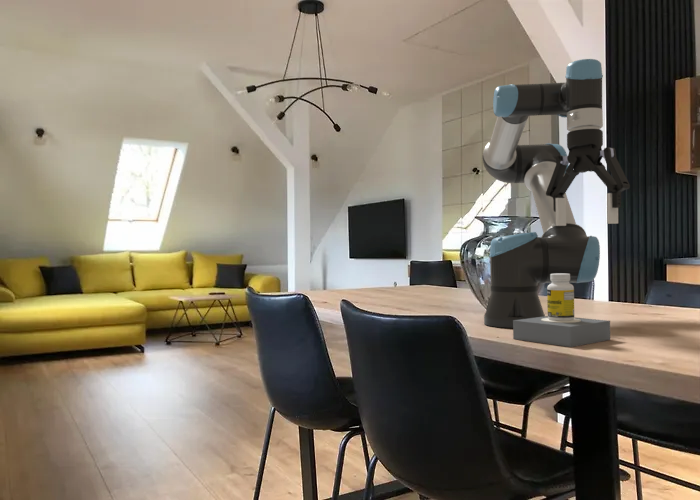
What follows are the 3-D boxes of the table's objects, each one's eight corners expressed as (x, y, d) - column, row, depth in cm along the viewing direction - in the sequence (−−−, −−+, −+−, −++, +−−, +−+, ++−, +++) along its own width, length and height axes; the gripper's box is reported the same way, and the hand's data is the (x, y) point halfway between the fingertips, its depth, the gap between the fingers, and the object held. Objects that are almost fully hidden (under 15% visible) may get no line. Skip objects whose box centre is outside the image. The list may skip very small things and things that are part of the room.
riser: (513, 338, 127) (513, 319, 127) (553, 332, 136) (552, 314, 136) (570, 347, 116) (570, 325, 116) (610, 339, 124) (609, 319, 124)
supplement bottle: (542, 319, 127) (541, 273, 127) (562, 317, 129) (561, 273, 129) (559, 321, 122) (559, 274, 122) (580, 320, 124) (579, 273, 124)
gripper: (529, 138, 142) (531, 226, 142) (625, 118, 120) (626, 222, 121) (551, 140, 146) (552, 226, 146) (646, 121, 124) (648, 222, 124)
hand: (585, 224), depth 133 cm, fingers open, 13 cm apart
